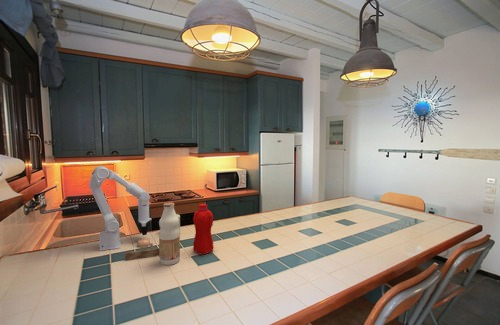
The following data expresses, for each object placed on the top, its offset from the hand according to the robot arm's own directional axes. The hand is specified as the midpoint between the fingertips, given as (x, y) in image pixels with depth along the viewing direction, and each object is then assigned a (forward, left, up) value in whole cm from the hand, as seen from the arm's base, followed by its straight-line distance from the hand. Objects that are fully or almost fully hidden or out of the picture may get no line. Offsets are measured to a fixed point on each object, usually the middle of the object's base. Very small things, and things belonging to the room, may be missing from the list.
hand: (144, 234), depth 147 cm
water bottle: (+30, -26, -3) cm, 40 cm away
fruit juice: (+12, -32, -3) cm, 34 cm away
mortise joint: (0, -20, -3) cm, 20 cm away
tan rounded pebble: (0, -8, -3) cm, 9 cm away
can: (+16, +4, -3) cm, 17 cm away
